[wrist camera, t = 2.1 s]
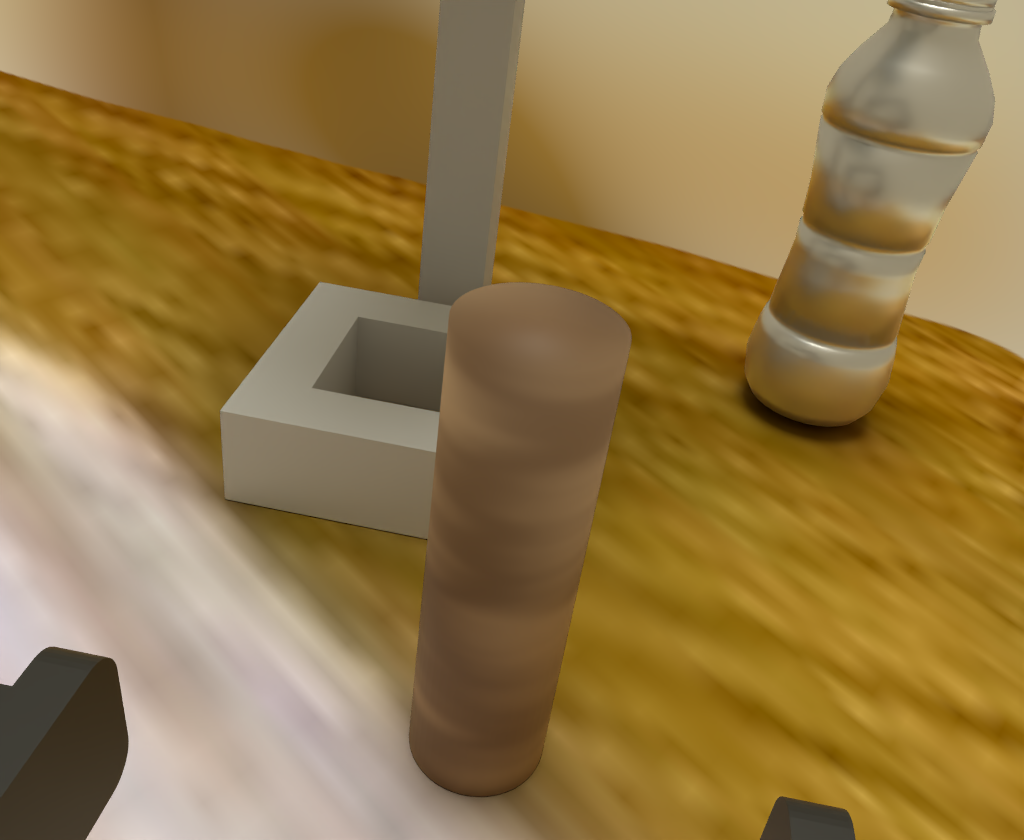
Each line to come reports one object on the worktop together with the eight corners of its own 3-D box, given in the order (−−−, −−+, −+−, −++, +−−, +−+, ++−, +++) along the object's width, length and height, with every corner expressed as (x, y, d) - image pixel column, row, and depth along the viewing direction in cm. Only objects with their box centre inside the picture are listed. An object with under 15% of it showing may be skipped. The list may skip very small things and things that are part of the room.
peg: (381, 745, 28) (410, 321, 20) (462, 664, 31) (515, 266, 23) (492, 823, 26) (571, 395, 19) (567, 729, 29) (662, 325, 22)
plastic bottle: (765, 357, 51) (893, -58, 40) (889, 409, 48) (1065, -25, 37) (711, 402, 46) (838, -53, 35) (844, 463, 43) (1029, -13, 32)
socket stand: (551, 563, 35) (791, -686, 18) (186, 491, 36) (79, -765, 19) (593, 337, 50) (746, -464, 33) (334, 290, 51) (350, -514, 34)
